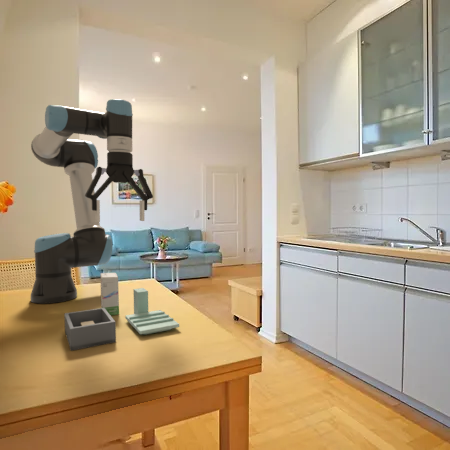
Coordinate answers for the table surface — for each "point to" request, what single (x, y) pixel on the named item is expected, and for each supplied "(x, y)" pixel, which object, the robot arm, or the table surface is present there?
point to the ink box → (110, 293)
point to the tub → (89, 328)
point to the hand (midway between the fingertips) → (120, 221)
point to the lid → (148, 316)
